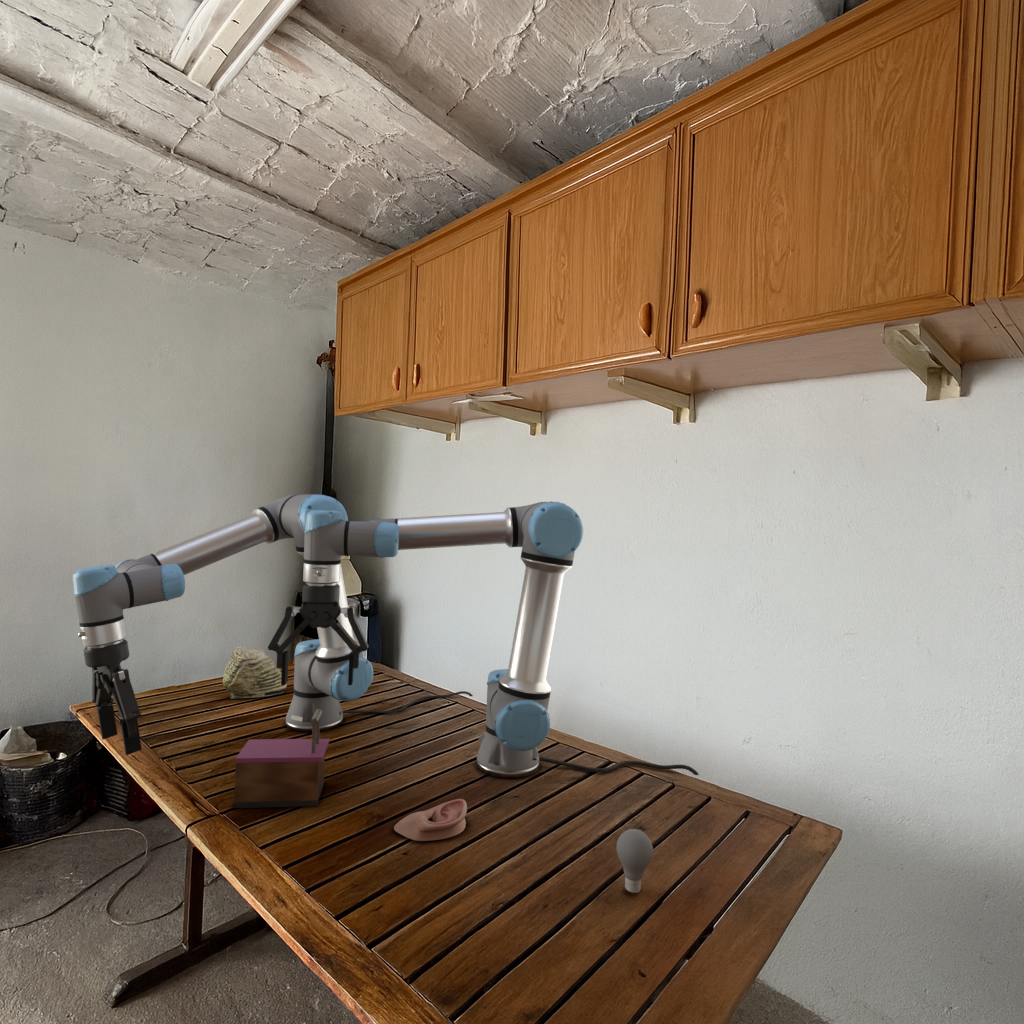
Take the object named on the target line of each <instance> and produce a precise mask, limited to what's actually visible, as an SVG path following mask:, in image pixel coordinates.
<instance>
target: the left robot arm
mask: <svg viewBox="0 0 1024 1024" xmlns="http://www.w3.org/2000/svg"><path fill="white" fill-rule="evenodd" d="M313 510H323V511H340V512H341V513H342V515H343V520H347V521H349V517H348V513H347V511H346V509H345V507H344V505H343V504H342V503H341V502H340V501H339V500H337V499H336V498H334V497H332V496H328V495H325V494H319V493H318V494H316V493H315V494H314V493H313V494H312V493H311V494H310V493H308V494H307V493H294V494H290V495H286V496H283V497H282V498H279V499H277V500H274V501H271V502H269V503H267V504H264V505H262V506H260V507H258V508H254V509H253V511H252V513H251V514H250V515H247V516H245V517H242V518H240V519H237V520H234V521H232V522H230V523H226V524H224V525H222V526H219V527H216V528H214V529H211V530H209V531H206V532H204V533H201V534H198V535H196V536H193V537H191V538H187V539H185V540H183V541H181V542H178V543H175V544H173V545H170V546H167V547H165V548H162V549H159V550H157V551H155V552H152V553H150V554H147V555H146V554H145V555H144V556H141V557H138V558H136V559H135V558H133V559H132V558H131V559H130V558H129V559H124V560H121V561H119V562H118V563H117V564H116V565H113V564H104V565H96V566H89V567H84V568H80V569H77V570H76V571H74V573H73V574H72V586H73V596H74V602H75V607H76V613H77V619H78V625H79V629H80V632H78V633H77V637H79V638H81V641H82V646H84V649H83V650H82V651H83V656H84V662H85V666H86V667H88V668H91V673H92V677H91V679H92V680H91V681H92V682H91V684H92V685H91V687H92V688H91V702H92V704H95V707H96V708H97V717H98V722H99V728H100V735H101V739H102V740H103V741H104V740H105V739H106V740H107V739H109V738H111V737H114V736H118V735H119V734H118V729H117V728H118V727H117V722H116V716H115V709H114V705H113V704H115V706H116V709H117V711H118V713H119V717H120V719H119V720H118V725H120V728H121V735H122V742H123V748H124V753H125V755H126V756H128V755H131V754H134V753H137V752H139V751H142V742H141V736H140V728H139V723H138V719H139V718H142V713H141V710H140V708H139V707H140V706H139V704H138V701H137V698H136V695H135V691H134V689H133V686H132V682H131V679H130V673H129V672H130V671H129V670H128V668H125V669H123V668H122V666H121V663H122V662H123V661H126V660H127V659H129V658H130V649H129V643H128V642H129V641H128V640H127V639H126V638H127V636H128V634H127V628H126V627H127V626H126V622H125V617H124V610H126V609H131V608H136V607H140V606H147V605H151V604H155V603H162V602H168V601H170V600H174V599H178V598H181V597H182V596H183V595H184V594H185V591H186V579H185V578H186V577H185V576H186V575H188V574H190V573H193V572H196V571H197V570H200V569H202V568H205V567H207V566H210V565H212V564H214V563H217V562H220V561H222V560H225V559H226V558H229V557H232V556H234V555H236V554H238V553H241V552H244V551H245V550H248V549H251V548H253V547H256V546H257V545H260V544H263V543H266V544H273V543H275V542H277V541H282V540H285V539H293V540H294V545H295V550H296V553H297V554H299V555H300V556H301V557H303V558H304V539H305V533H304V531H305V526H306V515H307V513H308V512H310V511H313ZM337 584H338V585H339V586H340V595H339V605H340V607H341V608H345V607H349V604H348V596H347V592H346V585H345V579H344V574H343V569H342V566H341V571H340V581H339V582H338V583H337ZM337 620H338V621H339V622H340V623H341V625H342V626H343V628H344V629H345V630H346V631H347V633H348V634H349V635H350V636H351V637H352V639H353V640H354V641H355V642H356V643H357V645H358V646H359V645H360V644H359V642H358V640H357V638H355V637H354V631H353V629H352V627H351V625H350V623H349V620H348V618H346V617H345V616H344V614H343V613H341V614H340V615H339V616H338V617H337ZM316 630H317V635H318V639H308V640H303V641H300V642H297V644H296V646H295V650H294V655H293V657H294V672H293V695H292V696H293V697H292V699H291V702H290V704H289V708H288V711H287V713H286V715H285V726H286V728H287V729H289V730H291V731H294V732H295V731H296V732H301V733H312V724H311V720H312V717H313V715H314V713H315V711H316V710H317V709H321V710H322V714H321V716H320V732H325V731H329V730H332V729H335V728H337V727H339V726H340V725H342V723H343V722H344V714H380V715H381V714H382V715H383V714H385V715H387V714H395V713H399V712H402V711H404V710H405V709H406V708H408V707H410V706H413V705H414V704H415V703H417V702H420V701H423V700H427V699H439V698H450V697H453V696H457V695H463V694H464V695H467V696H469V697H473V696H474V695H473V694H472V693H471V692H469V691H464V690H463V691H456V692H453V693H448V694H438V695H437V694H435V695H427V696H422V697H418V698H416V699H414V700H412V701H411V702H409V703H407V704H405V705H403V706H402V707H399V708H396V709H393V710H366V709H365V710H364V709H363V710H360V709H359V710H352V709H351V710H343V709H342V706H341V702H340V701H342V702H353V701H357V700H358V699H359V698H361V697H362V696H364V694H366V692H368V690H369V687H370V686H371V684H372V683H373V680H374V667H373V665H372V663H371V662H370V661H369V660H368V658H365V657H364V654H363V651H362V652H360V654H359V666H358V668H354V672H353V683H352V685H348V676H349V654H350V652H351V649H350V648H349V647H348V646H347V644H346V643H345V642H344V641H343V640H342V638H341V637H340V636H339V635H338V634H337V632H336V631H335V630H333V628H332V627H331V626H330V627H327V628H321V627H318V628H316Z"/></svg>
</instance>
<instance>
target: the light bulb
mask: <svg viewBox="0 0 1024 1024" xmlns="http://www.w3.org/2000/svg"><path fill="white" fill-rule="evenodd" d="M615 849H616V854H617V857H618V859H619V861H620V863H621V865H622V867H623V873H624V874H623V875H624V876H625V878H624V888H625V890H627V891H628V892H630V893H634V894H635V893H639V892H640V891H641V889H642V887H641V886H642V879H643V877H644V875H645V871H646V868H647V867H648V866H649V864H650V863H651V861H652V859H653V855H654V847H653V843H652V841H651V838H649V836H648V835H647V834H646V833H645V832H643V831H642V830H641V829H636V828H629V829H627V830H625V831H623V832H622V833H621V834H620V835H619V837H618V839H617V841H616V847H615Z"/></svg>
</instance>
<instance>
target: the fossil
mask: <svg viewBox="0 0 1024 1024" xmlns="http://www.w3.org/2000/svg"><path fill="white" fill-rule="evenodd" d="M281 674H282V671H281V669H280V668H277V664H276V663H275V662H274V660H273V659H272V658H271V657H270V656H269V655H268V654H267V653H266V652H265V650H264V649H263V648H260V647H258V648H251V647H247V646H246V647H245V646H238V647H237V648H236V649H235V650H233V651H232V653H231V656H230V657H229V659H228V660H227V663H226V666H225V668H224V671H223V675H222V676H223V677H222V685H223V687H224V688H225V690H226V691H228V693H229V698H230V699H250V698H264V697H271V696H275V695H281V694H284V693H285V691H286V689H287V687H288V686H287V683H286V684H285V685H281Z"/></svg>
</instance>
